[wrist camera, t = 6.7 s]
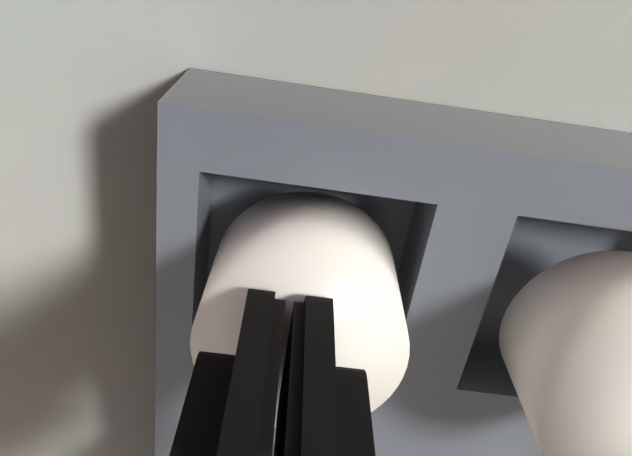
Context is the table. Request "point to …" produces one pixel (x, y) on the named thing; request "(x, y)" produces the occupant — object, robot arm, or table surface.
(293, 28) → the table surface
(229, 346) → the button
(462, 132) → the button board
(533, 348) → the button
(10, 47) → the table surface
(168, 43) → the table surface
